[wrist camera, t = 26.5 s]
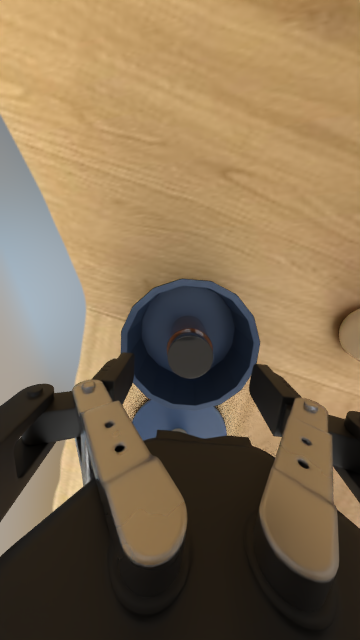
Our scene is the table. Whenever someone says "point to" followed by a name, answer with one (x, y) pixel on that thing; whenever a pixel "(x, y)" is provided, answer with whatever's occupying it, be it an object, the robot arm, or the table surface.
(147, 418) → the lid
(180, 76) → the table surface
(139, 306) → the blue round pot
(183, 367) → the spice bottle
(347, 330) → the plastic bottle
